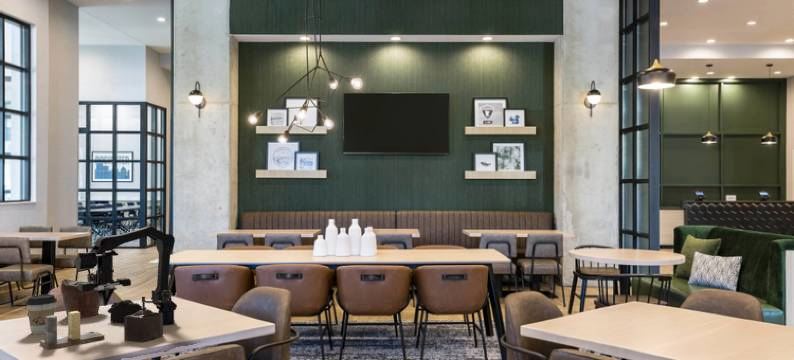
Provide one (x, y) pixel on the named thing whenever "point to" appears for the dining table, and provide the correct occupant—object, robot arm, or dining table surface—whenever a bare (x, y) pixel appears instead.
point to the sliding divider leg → (74, 325)
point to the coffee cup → (40, 311)
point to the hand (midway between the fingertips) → (105, 305)
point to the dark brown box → (145, 322)
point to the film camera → (123, 310)
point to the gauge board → (54, 342)
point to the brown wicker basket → (80, 299)
